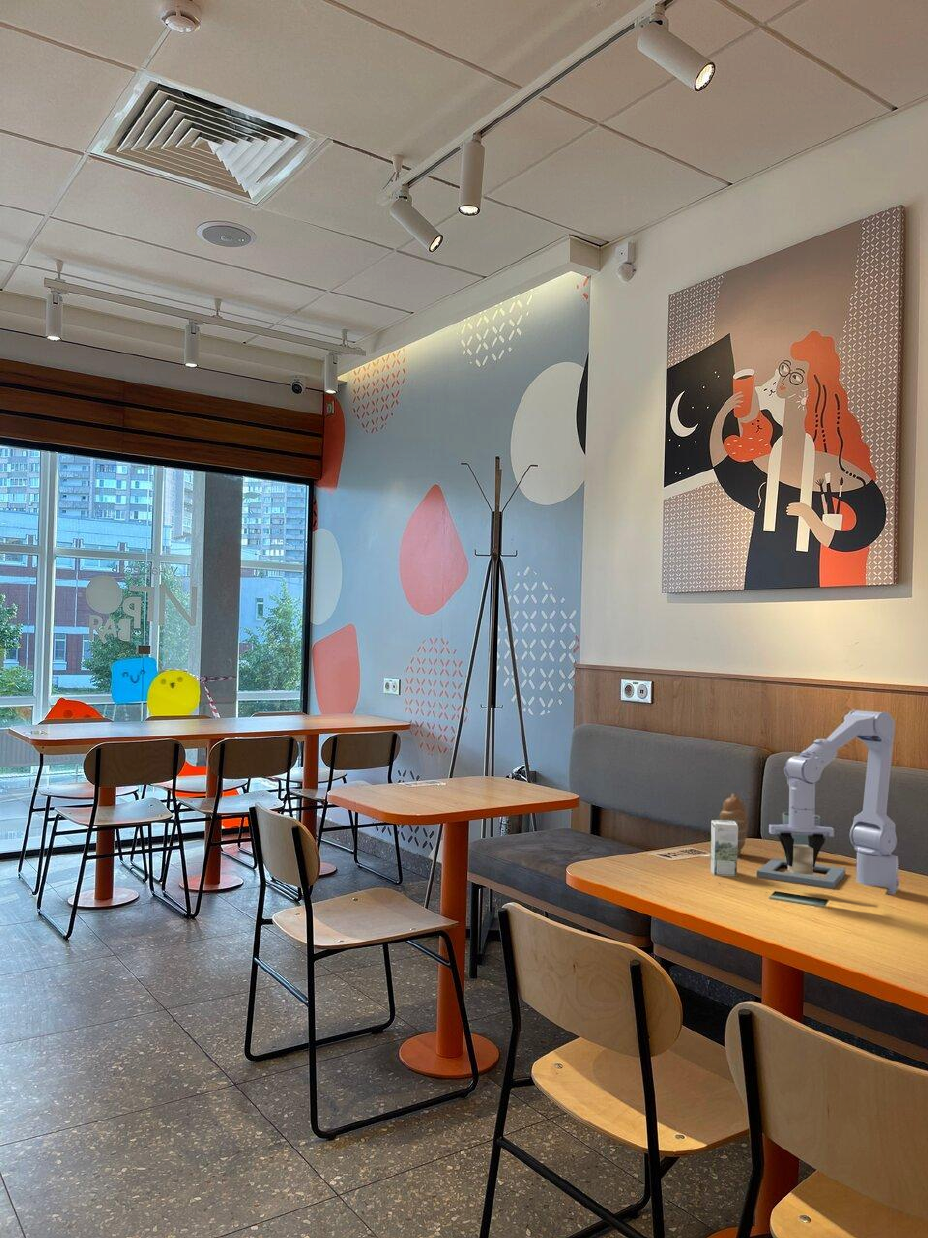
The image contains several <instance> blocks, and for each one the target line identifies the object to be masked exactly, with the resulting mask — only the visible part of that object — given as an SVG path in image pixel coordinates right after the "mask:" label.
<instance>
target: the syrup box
mask: <svg viewBox="0 0 928 1238" xmlns="http://www.w3.org/2000/svg"><path fill="white" fill-rule="evenodd" d="M710 823H711V825H710V827H711V828H710V859H709V860H710V865H709V869H710V870H709V873H712V875H714V876H723V877H724V876H725V877H737V876H738V856H737V848H738V826H737V824H736V822H734V821H724V820H720V819H712V820H711V822H710Z"/></svg>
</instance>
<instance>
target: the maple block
mask: <svg viewBox="0 0 928 1238" xmlns="http://www.w3.org/2000/svg"><path fill="white" fill-rule="evenodd" d="M786 868H787V871H788V870H789V871H790V872H792V873H793V874H811V875H813V874H814V873H813V872H814V871H813V848H811V847H810V846H808V845H797V844H793V863H792V866H788V865H787V867H786Z"/></svg>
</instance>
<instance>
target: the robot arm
mask: <svg viewBox="0 0 928 1238" xmlns="http://www.w3.org/2000/svg"><path fill="white" fill-rule="evenodd" d="M895 731H896V721H895V720H894V719H893V717H892V715H891V714H890V713H889V712H887V711H875V710H874V711H872V710H860V709H856V708H855V709H851V710H850V711H849V712H848V713H846V714H845V715H844V717H843V722H841V724H840V725H838V727H837V728H835V730H834V731H833V732H832V733H831V734H830V735H829V736H828V737H827V738H816V739H815V740H813V743H812V744H811V745H810V746H809V747H808V748H806V749H805V750H803V751H802V752H801V753H800V754H799V755H798V756H797V755H793V756H791V757H790V758H788V759H787V760H786V762H785V766H784V767H783V773H784V775H785V778H786V781H787V782H786V783H787V784H786V785H787V786H788V789H789V790H788V797H789V798H788V812H789V824H783V823H782V824H768V833H769V834H771V835H777V836H778V839H779V841H780V843H781V846H782V849H783V853H784V852H785V856H786V857H785V856H784V857H785V860H786V861H787V865H788V866H792V863H793V844H794V839H793V838H792V836H791V834H793V835H808V842H809V846H810V847H811V848H813V867H815V864H816V862H817V858H818V855H819V853H820V850H821V849H822V847H823V845H824V844H825V842H826V838H825V837H833V838H834V837H835V829H834V828H833V827H831V826H820V825H819V826H814V815H816V814H815V806H816V804H815V801H816V799H815V798H816V782H818V781H819V780H820V778H821V776H822V772H823V771H824V769H825V768H826V767H827V766H828V765H829V764H831V762H832V761H834V760H835V759H836V758H837V757H838V750H839V749H841V748H843V747H844V746H845V745H846V744H848V743H849V742H850V741H852V740H853V739H855V738H857V739H859V741H861V742H862V743H863V744H865V746H866V747H867V749H868V755H867V762H866V763H867V764H866V773H865V774H866V775H865V785H864V795H863V804H862V805H863V806H862V811H861V812H859V813H858V814H856V815H855V816H854V817H853V820H852V821H853V822H852V826H851V828H850V831H849V840H850V843H851V845H852V846H853V847H854V851H856V882H857V883H859V884H862V885H863V886H864V885H865V886H868V887H869V886H870V887H879V888H880V887H881V888H887V890H886V891H885V894H886V895H887V894H888V895H896V893H897V891H898V890H899V884H900V883H899V882H900V881H899V858H898V856H897V855H893V854H892V853H893V852H894V851H895V849H896V848H897V843H898V839H897V838H898V837H897V833H896V823H895V822H894V821H893V820H892V819H891V818H890V817H889V816H888V815H887V812H888V811H887V810H888V801H889V799H888V798H889V789H890V788H889V787H890V779H891V769H892V759H893V748H894V741H895V733H896V732H895ZM794 831H795V832H794ZM807 832H810V833H807Z"/></svg>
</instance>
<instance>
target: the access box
mask: <svg viewBox="0 0 928 1238" xmlns="http://www.w3.org/2000/svg"><path fill="white" fill-rule="evenodd" d="M780 867H786V868H787V861H786V859H783V858H777V857H776V858H774V857H773V858H771V859H770V860H768V861H767V862H766V863H765V864H763V866H761V867H760V868H759V869H757V870H756V878H759V879H765V880H773V881H777V882H778V881H779V882H785V883H791V884H799V885H805V886H812V887H817V888H825V889H831V890H834V889H835V888H836V886H837V885H838V884H839V883H840V882H841V880H842V879H843V878H844V877H845V875H846V867H840V866H832V865H823V864H817V863H815V867H813V872H820V873H826V874H824V876H823V877H821V876H822V875H821V874H815V873H813V875H811V874H793V873H792V872H790V871H789V870H787V871H786V872H784V871H779V870H778V871H777V869H778V868H780Z"/></svg>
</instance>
